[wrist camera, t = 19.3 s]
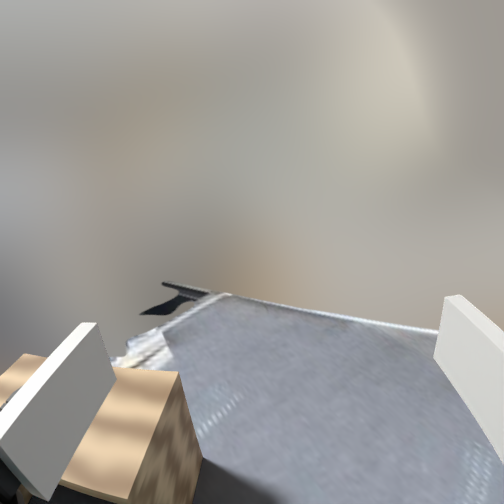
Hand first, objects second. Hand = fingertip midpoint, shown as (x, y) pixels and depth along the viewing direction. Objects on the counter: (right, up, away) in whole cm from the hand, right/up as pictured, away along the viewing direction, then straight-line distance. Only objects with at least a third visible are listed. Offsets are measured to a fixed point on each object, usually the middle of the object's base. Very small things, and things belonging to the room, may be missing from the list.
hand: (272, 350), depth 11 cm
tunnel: (-21, -29, +20) cm, 41 cm away
